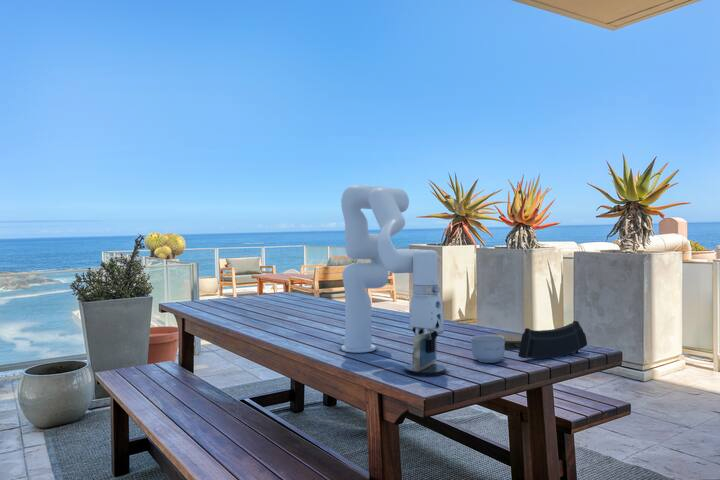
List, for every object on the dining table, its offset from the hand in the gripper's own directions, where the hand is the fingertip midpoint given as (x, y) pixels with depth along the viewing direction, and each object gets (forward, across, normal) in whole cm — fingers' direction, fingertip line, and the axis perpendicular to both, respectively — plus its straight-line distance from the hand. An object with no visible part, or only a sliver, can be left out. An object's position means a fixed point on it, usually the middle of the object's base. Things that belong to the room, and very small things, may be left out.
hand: (425, 351), depth 151 cm
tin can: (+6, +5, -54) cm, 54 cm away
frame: (+5, +1, +1) cm, 5 cm away
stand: (+6, 0, 0) cm, 6 cm away
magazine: (+6, -17, -47) cm, 51 cm away
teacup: (+6, -6, -26) cm, 28 cm away
